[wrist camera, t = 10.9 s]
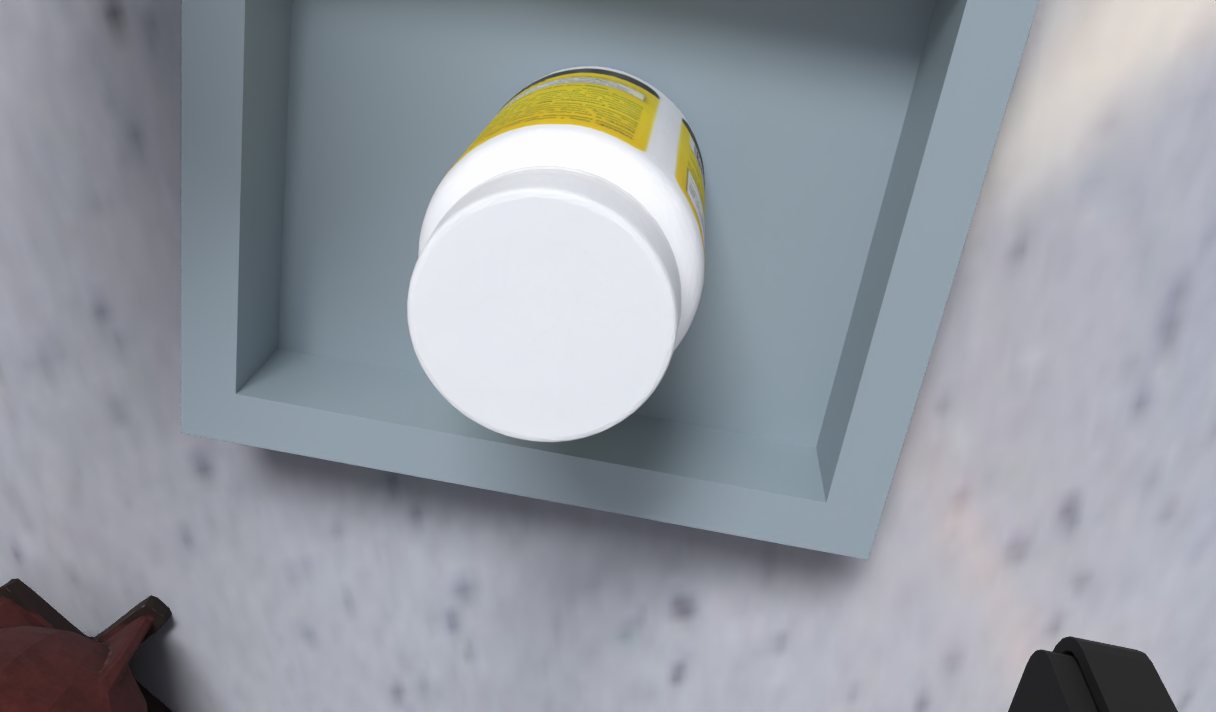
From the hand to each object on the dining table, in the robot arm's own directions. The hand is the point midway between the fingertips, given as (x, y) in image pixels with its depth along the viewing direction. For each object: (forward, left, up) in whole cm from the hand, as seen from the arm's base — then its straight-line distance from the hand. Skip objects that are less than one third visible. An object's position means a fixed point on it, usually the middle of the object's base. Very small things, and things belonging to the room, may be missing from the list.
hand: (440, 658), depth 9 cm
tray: (+1, 0, -16) cm, 16 cm away
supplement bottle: (0, 0, -16) cm, 16 cm away
